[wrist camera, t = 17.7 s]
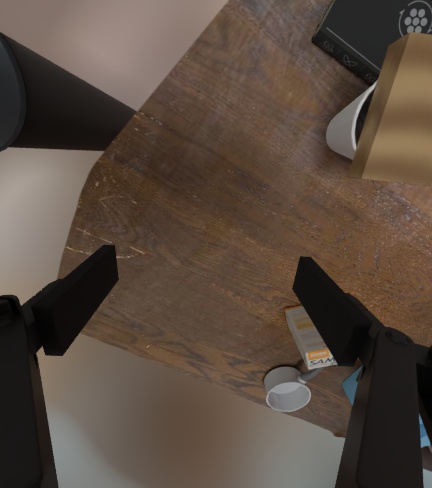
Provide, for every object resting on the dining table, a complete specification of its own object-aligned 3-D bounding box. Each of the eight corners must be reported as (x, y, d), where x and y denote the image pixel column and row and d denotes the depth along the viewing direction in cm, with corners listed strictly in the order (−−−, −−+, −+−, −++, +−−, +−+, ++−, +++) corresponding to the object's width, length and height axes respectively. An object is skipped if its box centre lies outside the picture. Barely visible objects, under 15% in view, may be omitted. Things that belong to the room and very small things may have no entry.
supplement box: (286, 323, 55) (307, 371, 42) (283, 307, 53) (304, 353, 41) (319, 316, 54) (350, 363, 42) (318, 300, 52) (350, 344, 40)
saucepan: (332, 353, 58) (344, 372, 53) (285, 396, 65) (291, 417, 59) (299, 335, 56) (308, 354, 51) (253, 382, 62) (257, 402, 57)
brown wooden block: (388, 45, 24) (410, 31, 22) (464, 56, 25) (496, 43, 22) (347, 176, 30) (361, 178, 27) (411, 183, 30) (431, 186, 27)
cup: (367, 169, 41) (427, 174, 30) (305, 165, 41) (340, 169, 29) (389, 94, 37) (470, 67, 25) (319, 89, 36) (368, 59, 25)
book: (309, 42, 34) (318, 32, 31) (377, -83, 29) (394, -108, 26) (410, 117, 38) (426, 114, 35) (485, 18, 33) (509, 5, 30)
